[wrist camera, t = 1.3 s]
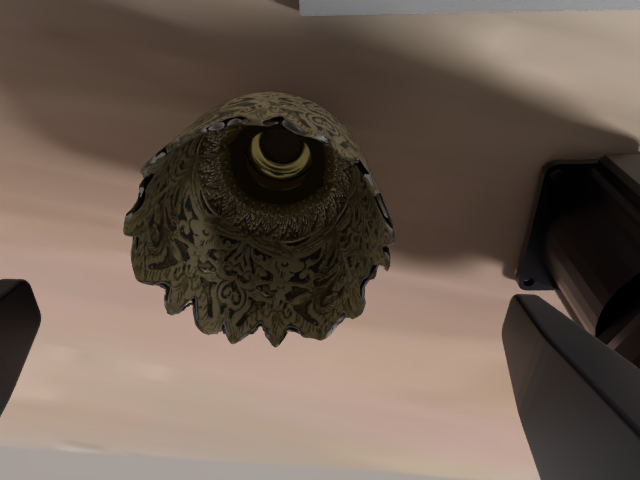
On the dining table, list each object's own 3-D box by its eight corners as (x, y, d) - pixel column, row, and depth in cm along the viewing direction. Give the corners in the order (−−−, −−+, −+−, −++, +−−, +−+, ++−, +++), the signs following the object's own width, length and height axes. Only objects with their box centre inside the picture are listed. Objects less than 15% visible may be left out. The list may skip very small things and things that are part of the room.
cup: (318, 246, 23) (314, 380, 16) (167, 178, 21) (93, 297, 15) (407, 107, 20) (448, 205, 13) (233, 11, 18) (175, 67, 11)
